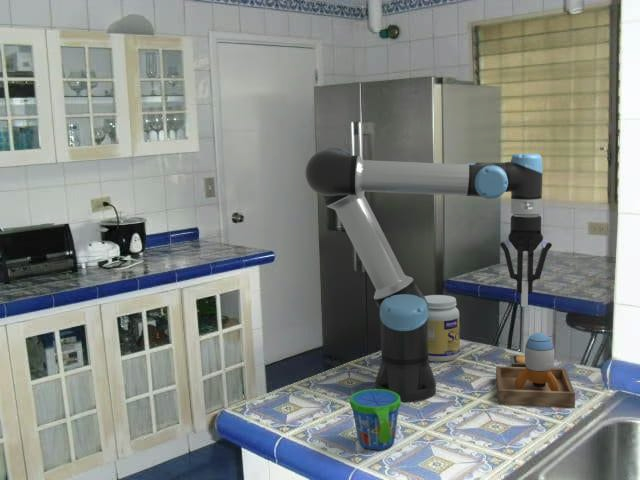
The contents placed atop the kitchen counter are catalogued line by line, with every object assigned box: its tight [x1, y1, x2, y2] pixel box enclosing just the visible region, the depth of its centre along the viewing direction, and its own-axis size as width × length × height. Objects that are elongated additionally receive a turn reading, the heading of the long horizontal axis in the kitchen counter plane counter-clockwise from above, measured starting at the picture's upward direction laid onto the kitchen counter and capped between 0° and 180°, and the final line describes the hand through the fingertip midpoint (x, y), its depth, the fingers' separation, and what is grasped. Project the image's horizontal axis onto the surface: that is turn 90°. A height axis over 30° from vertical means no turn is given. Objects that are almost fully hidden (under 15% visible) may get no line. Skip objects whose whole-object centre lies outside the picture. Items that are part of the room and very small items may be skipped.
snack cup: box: [349, 388, 402, 451], centre depth 147 cm, size 16×10×10 cm
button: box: [516, 354, 525, 363], centre depth 184 cm, size 5×5×2 cm
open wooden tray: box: [495, 365, 576, 409], centre depth 171 cm, size 17×17×4 cm
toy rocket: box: [515, 332, 559, 391], centre depth 170 cm, size 10×11×15 cm
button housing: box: [509, 354, 526, 367], centre depth 184 cm, size 7×7×4 cm
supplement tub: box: [423, 294, 461, 363], centre depth 200 cm, size 12×12×17 cm
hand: (524, 305), depth 182 cm, fingers closed
